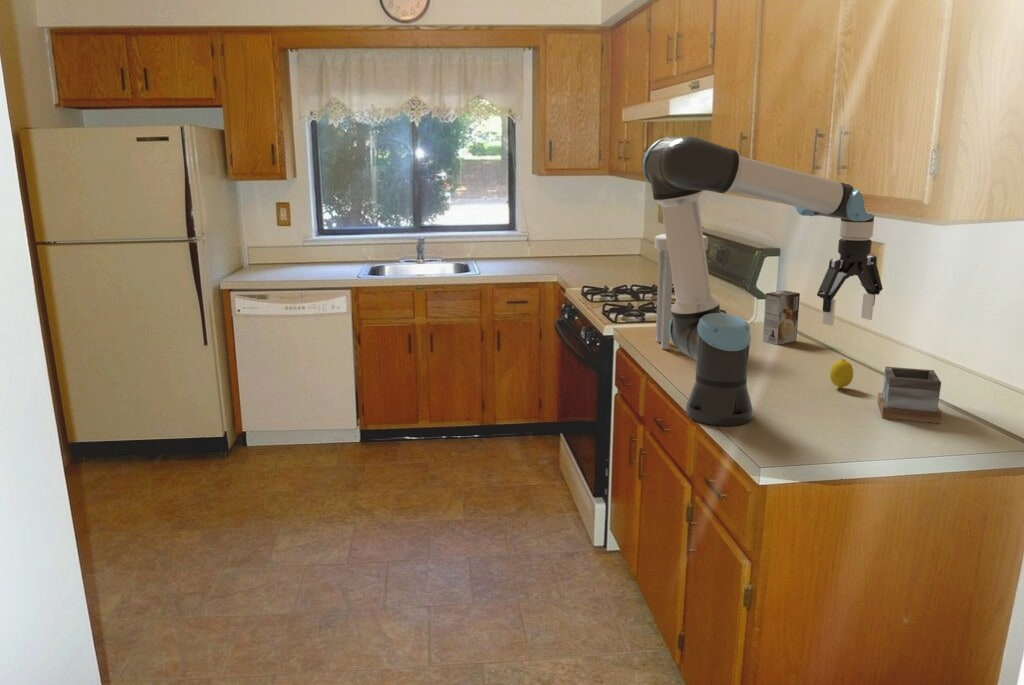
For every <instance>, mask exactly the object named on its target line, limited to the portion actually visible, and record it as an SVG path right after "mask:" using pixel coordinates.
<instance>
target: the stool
mask: <svg viewBox="0 0 1024 685" xmlns="http://www.w3.org/2000/svg"><path fill="white" fill-rule="evenodd" d="M703 239H704V246H705V251H707V250H708V246H709V245H708V244H709V243H708V242H709V239H708V236H706V235H704V234H703ZM654 249H656V250H657V251H658V272H657V295H656V296H657V297H656V300H657V301H656V320H655V321H656V324H655V329H656V330H655V342H656V341H657V342H661V343H660V348H662V349H669V350H670V341H671V338H670V335H669V324H670V320H671V319H672V312H671V307H672V306H673V305H674V304H675V303H674V304H673V303H672V295H673V294H672V293H673V292H672V291H673V278H672V271H671V265H670V258H669V252H668V246H667V239H666V233H661V234H658V235H656V236H655V238H654ZM657 342H656V343H657ZM662 349H661V350H662Z"/></svg>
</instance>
